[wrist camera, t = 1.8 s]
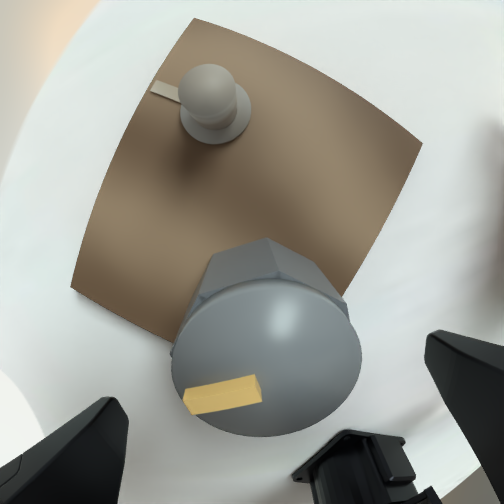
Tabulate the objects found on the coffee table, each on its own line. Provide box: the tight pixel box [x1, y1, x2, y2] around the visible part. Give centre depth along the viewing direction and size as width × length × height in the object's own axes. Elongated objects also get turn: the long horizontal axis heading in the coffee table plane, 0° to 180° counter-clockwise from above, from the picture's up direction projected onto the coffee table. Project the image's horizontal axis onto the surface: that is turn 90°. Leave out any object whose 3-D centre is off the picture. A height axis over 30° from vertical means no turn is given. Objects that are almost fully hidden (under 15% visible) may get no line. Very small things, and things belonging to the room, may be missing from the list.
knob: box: [170, 237, 362, 437], centre depth 9 cm, size 5×5×5 cm
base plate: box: [70, 18, 423, 343], centre depth 10 cm, size 13×11×4 cm
